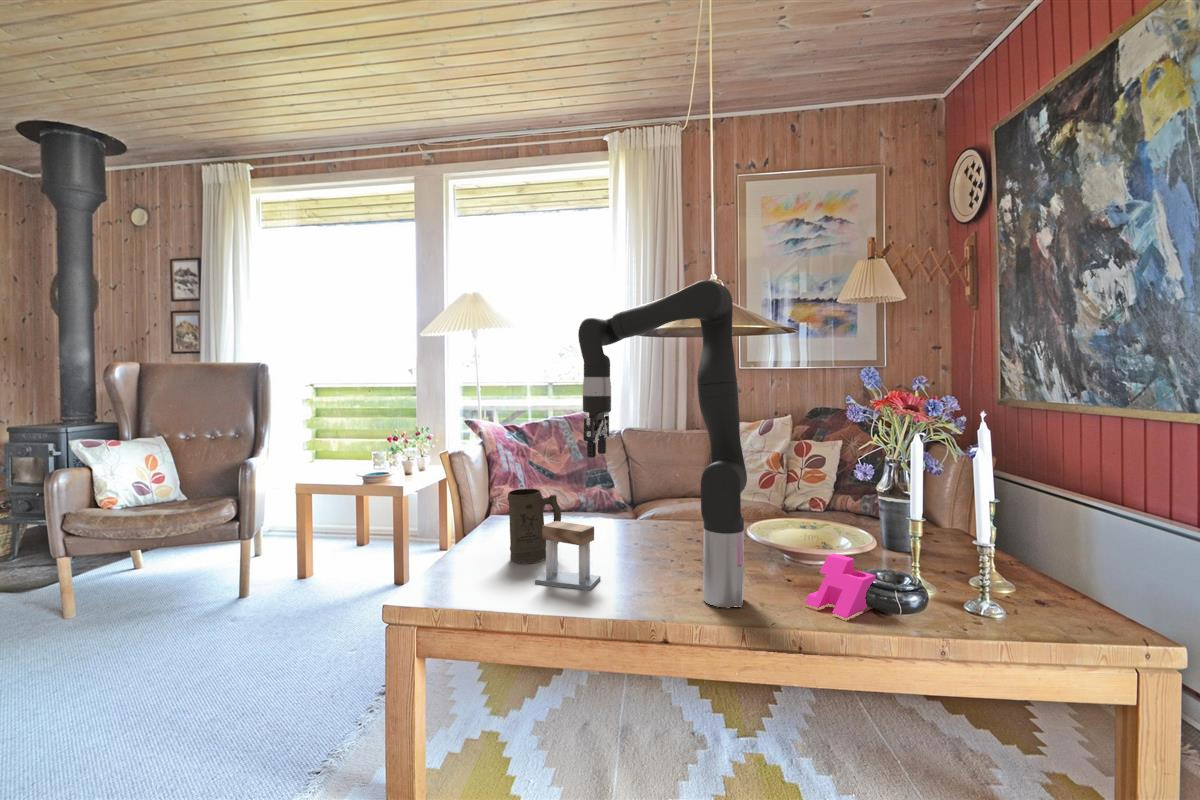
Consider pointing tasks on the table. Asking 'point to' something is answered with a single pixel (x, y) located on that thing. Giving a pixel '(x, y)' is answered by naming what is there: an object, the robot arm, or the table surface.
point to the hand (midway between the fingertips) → (596, 455)
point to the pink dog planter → (842, 586)
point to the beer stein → (528, 524)
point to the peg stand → (567, 578)
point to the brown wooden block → (568, 533)
